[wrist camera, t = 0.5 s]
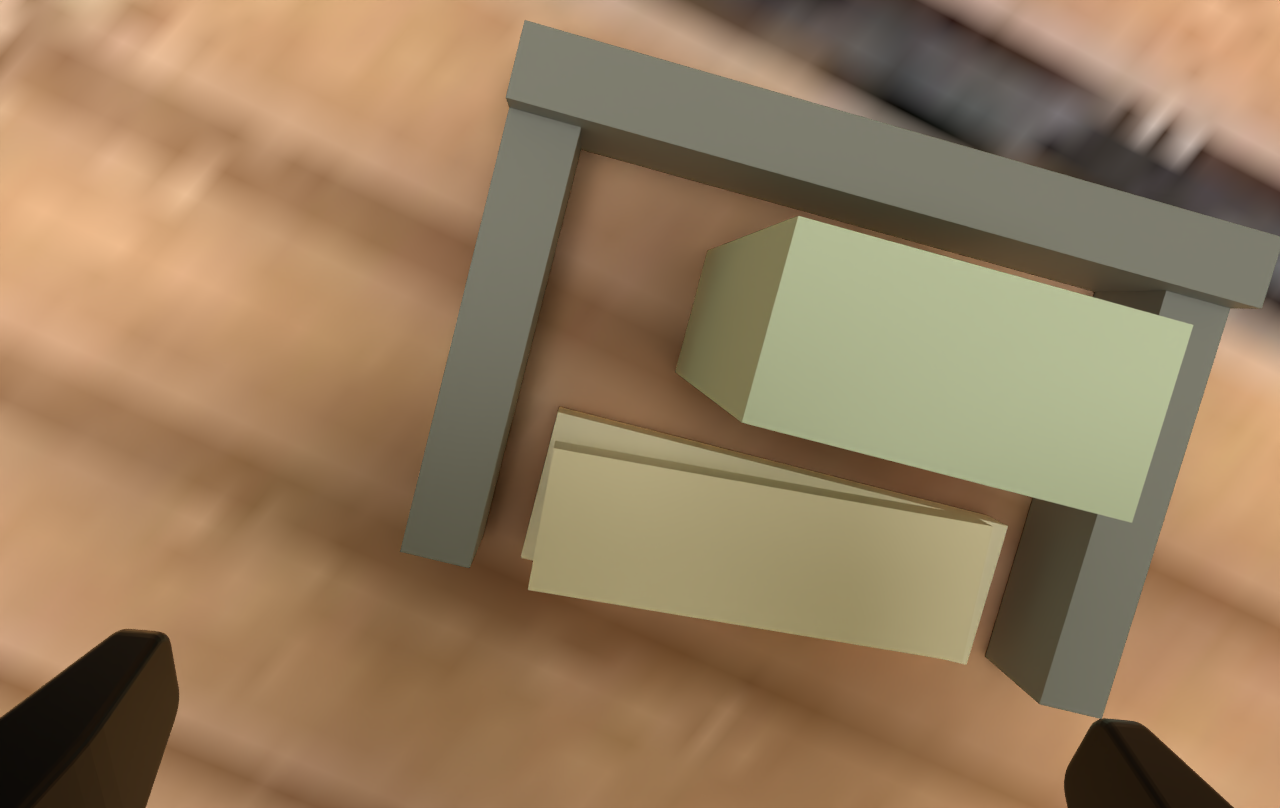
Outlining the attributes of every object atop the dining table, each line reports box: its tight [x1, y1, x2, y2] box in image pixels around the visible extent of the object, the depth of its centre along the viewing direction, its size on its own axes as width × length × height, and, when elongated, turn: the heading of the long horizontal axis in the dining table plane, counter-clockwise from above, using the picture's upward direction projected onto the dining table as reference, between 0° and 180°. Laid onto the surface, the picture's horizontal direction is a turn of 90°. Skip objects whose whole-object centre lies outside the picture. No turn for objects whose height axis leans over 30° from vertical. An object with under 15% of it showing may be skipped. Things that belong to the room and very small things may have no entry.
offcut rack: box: [400, 20, 1280, 719], centre depth 22 cm, size 11×16×4 cm
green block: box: [675, 216, 1193, 523], centre depth 19 cm, size 3×6×10 cm, turn 75°
